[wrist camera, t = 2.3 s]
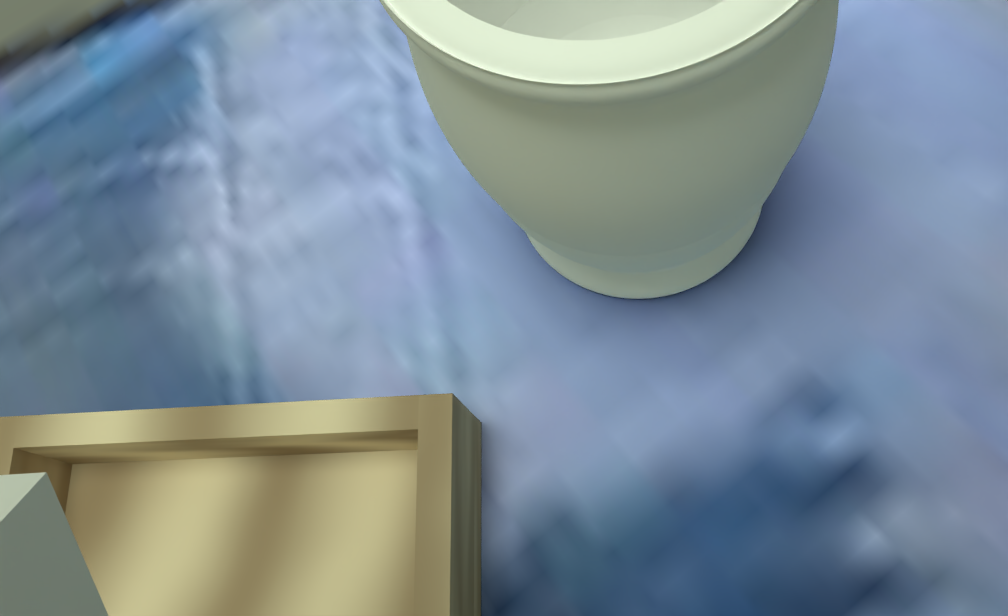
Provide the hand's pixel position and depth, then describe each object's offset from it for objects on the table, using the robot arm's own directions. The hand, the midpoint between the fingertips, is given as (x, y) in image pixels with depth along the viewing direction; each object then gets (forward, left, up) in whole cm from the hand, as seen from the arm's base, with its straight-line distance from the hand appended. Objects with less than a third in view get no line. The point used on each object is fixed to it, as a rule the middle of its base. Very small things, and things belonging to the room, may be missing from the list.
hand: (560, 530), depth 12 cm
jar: (-1, -13, -18) cm, 23 cm away
